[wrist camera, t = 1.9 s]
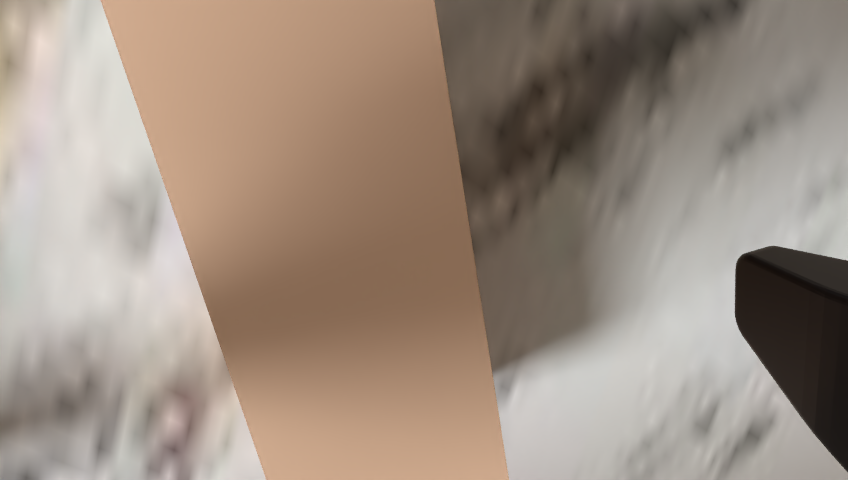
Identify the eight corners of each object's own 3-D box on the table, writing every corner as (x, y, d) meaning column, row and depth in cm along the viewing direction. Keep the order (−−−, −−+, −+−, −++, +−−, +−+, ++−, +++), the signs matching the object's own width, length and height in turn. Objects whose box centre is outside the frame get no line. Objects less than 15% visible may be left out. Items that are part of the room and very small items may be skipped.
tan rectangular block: (448, 384, 17) (515, 525, 13) (282, 434, 16) (306, 594, 13) (348, -145, 12) (411, -147, 8) (111, -99, 11) (73, -81, 8)
